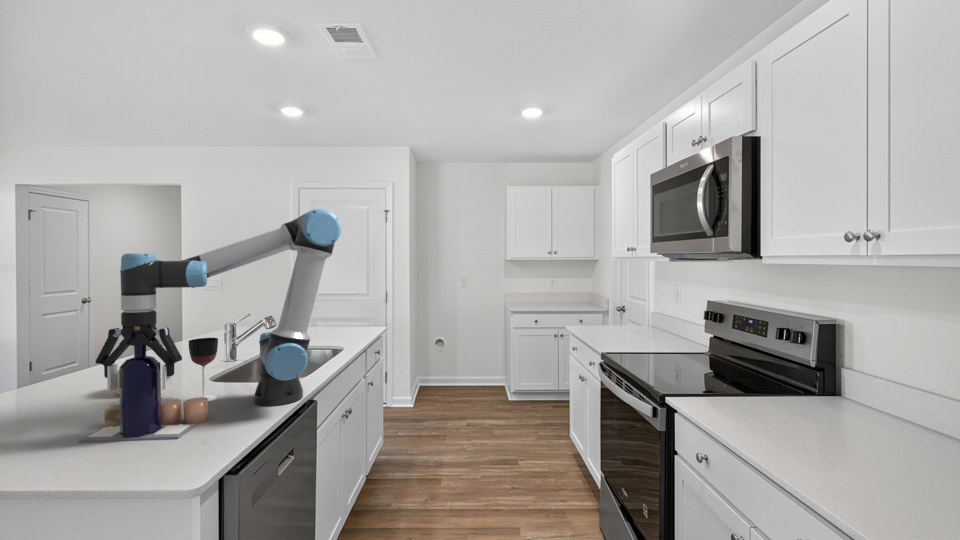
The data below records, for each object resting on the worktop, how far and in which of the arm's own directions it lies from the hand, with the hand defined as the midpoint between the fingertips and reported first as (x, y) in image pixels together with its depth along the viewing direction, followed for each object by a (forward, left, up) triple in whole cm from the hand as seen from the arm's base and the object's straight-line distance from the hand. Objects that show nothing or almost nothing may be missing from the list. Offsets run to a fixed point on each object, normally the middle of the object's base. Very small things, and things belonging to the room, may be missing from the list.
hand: (140, 388), depth 120 cm
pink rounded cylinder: (-3, -8, -12) cm, 15 cm away
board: (0, 0, -12) cm, 12 cm away
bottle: (0, 0, -12) cm, 12 cm away
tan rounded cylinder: (-10, -8, -12) cm, 18 cm away
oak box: (+11, -8, -12) cm, 18 cm away
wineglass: (-2, -30, -12) cm, 32 cm away
